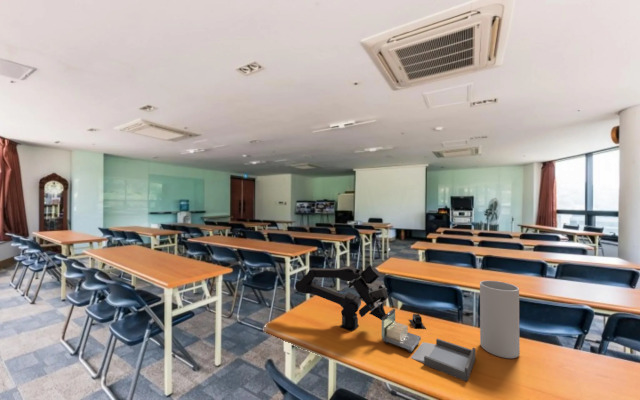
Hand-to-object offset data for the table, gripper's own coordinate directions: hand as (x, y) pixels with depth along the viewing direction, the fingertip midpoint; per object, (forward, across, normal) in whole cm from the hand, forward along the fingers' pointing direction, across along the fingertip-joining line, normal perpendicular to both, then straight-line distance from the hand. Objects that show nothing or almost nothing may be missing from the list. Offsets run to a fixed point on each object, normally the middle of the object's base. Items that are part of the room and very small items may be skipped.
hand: (387, 322), depth 108 cm
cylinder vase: (+32, +19, -22) cm, 43 cm away
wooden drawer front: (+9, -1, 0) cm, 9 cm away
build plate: (+9, +21, +1) cm, 23 cm away
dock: (+21, -1, -10) cm, 23 cm away
